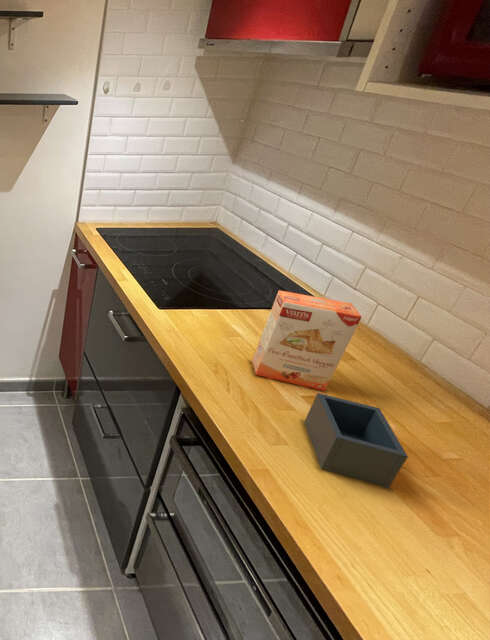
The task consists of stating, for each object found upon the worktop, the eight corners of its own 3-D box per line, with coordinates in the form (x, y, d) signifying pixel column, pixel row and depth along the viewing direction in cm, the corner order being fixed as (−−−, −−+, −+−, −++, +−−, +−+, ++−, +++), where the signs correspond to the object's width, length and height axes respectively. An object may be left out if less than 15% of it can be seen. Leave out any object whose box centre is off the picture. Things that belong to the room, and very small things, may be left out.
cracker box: (255, 376, 105) (284, 301, 96) (250, 361, 110) (277, 288, 102) (326, 393, 100) (363, 315, 92) (318, 376, 106) (352, 301, 97)
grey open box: (379, 408, 86) (317, 392, 89) (408, 456, 76) (336, 437, 79) (363, 438, 89) (303, 422, 93) (388, 488, 79) (320, 468, 83)
